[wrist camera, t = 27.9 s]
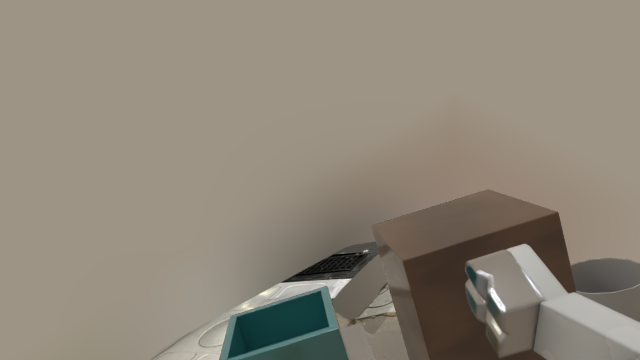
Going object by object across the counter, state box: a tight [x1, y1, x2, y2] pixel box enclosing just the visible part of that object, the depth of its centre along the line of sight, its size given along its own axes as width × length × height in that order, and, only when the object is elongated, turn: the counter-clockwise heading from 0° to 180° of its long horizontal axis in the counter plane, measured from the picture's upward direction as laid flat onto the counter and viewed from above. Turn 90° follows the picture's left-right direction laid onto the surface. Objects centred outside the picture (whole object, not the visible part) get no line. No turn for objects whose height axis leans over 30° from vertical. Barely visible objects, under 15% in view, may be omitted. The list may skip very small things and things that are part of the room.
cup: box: [570, 258, 640, 322], centre depth 50 cm, size 8×8×10 cm
